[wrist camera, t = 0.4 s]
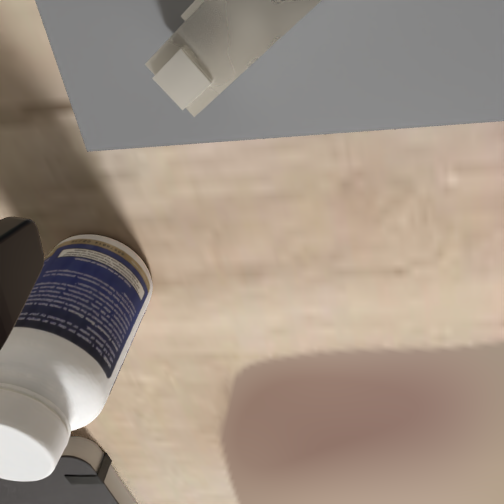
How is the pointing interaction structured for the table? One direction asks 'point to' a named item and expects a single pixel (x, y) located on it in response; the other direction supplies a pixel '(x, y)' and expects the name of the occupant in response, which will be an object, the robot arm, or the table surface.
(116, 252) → the pill bottle
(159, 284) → the table surface
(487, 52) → the dial plate
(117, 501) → the notebook
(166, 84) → the pointer
